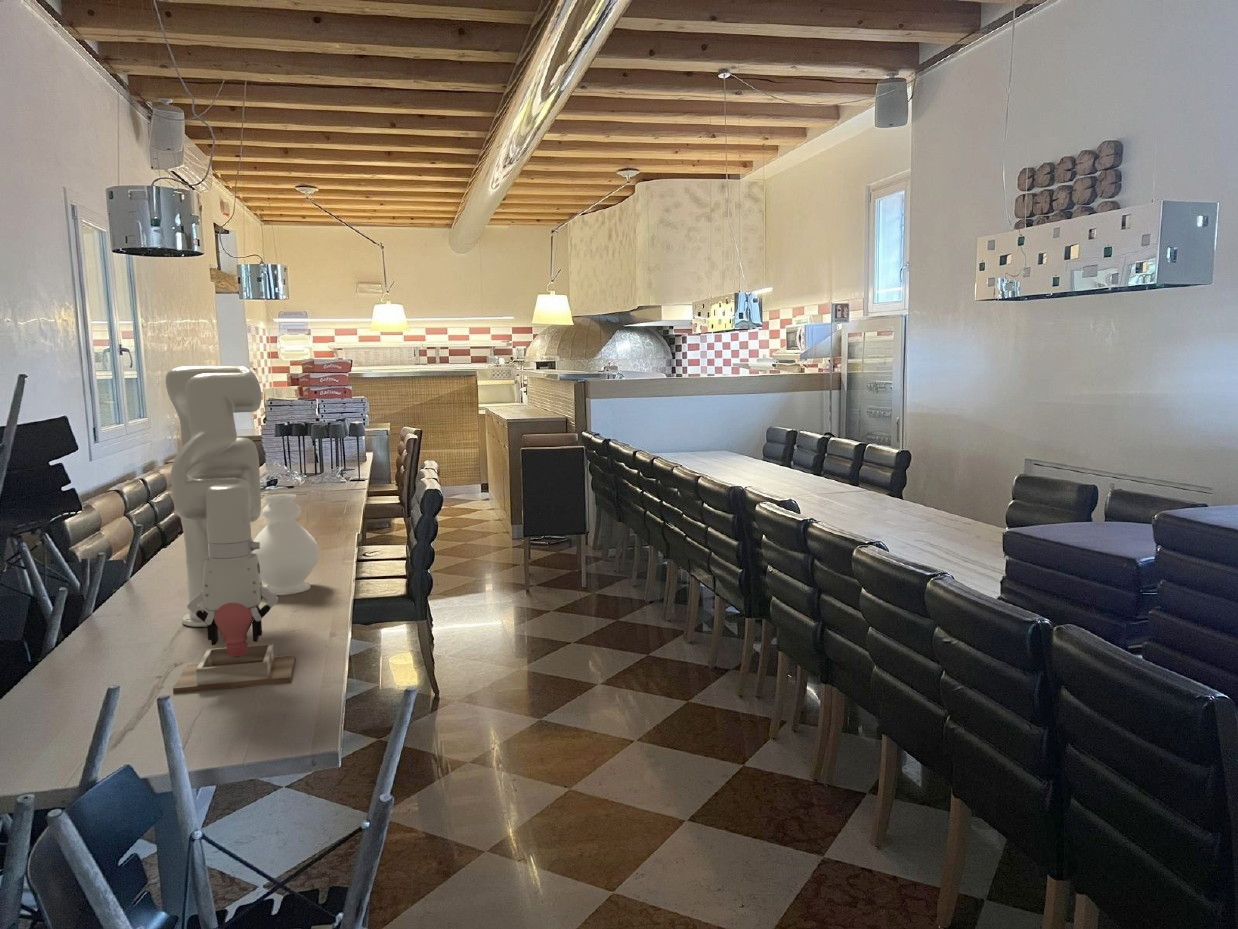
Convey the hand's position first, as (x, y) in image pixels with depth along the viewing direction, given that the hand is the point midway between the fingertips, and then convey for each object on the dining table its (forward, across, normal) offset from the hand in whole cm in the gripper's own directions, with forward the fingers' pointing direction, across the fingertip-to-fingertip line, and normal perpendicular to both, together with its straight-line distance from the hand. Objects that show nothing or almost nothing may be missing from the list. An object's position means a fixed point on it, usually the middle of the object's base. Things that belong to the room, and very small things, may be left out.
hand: (235, 640), depth 169 cm
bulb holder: (+7, 0, 0) cm, 7 cm away
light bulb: (+3, 0, 0) cm, 3 cm away
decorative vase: (+7, -3, -67) cm, 67 cm away
